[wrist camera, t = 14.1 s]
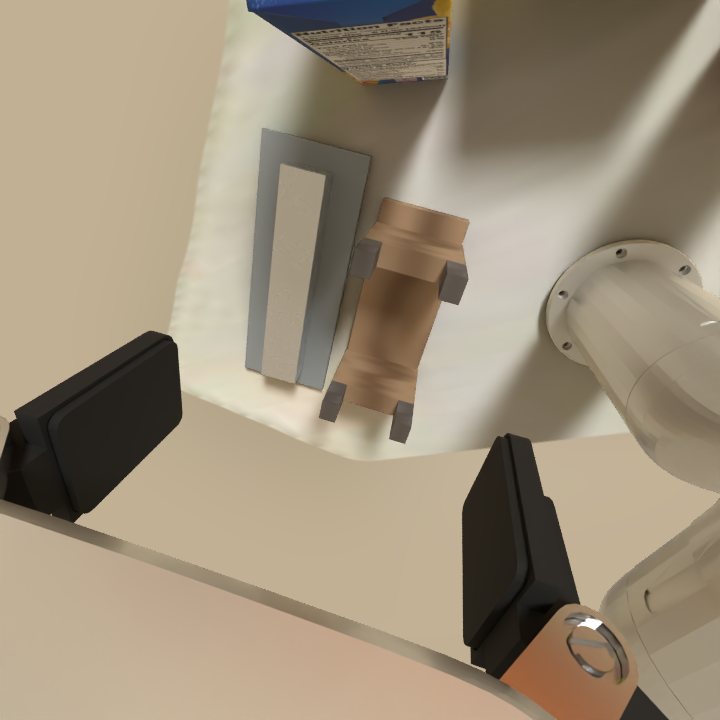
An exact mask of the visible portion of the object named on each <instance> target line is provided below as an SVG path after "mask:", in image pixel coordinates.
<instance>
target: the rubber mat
mask: <svg viewBox="0 0 720 720" xmlns="http://www.w3.org/2000/svg"><path fill="white" fill-rule="evenodd" d="M371 157H372V156H368V155H365V154H361V153H357V152H353V151H350V150H346V149H342V148H338V147H334V146H331V145H327V144H323V143H319V142H315V141H312V140H308V139H304V138H300V137H296V136H293V135H289V134H285V133H281V132H278V131H274V130H270V129H266V128H262V137H261V151H260V165H259V179H258V193H257V207H256V221H255V235H254V249H253V263H252V277H251V291H250V305H249V319H248V333H247V347H246V361H245V367H246V368H249V369H253V370H256V371H259V372H261V370H262V360H263V349H264V338H265V327H266V316H267V305H268V294H269V283H270V272H271V261H272V251H273V240H274V229H275V218H276V207H277V196H278V185H279V174H280V164H282V163H289V162H295V163H298V164H302V165H306V166H310V167H314V168H318V169H321V170H325V171H329V172H333V173H334V179H333V185H332V191H331V197H330V204H329V210H328V216H327V222H326V228H325V235H324V241H323V247H322V253H321V260H320V266H319V272H318V278H317V285H316V291H315V297H314V303H313V309H312V316H311V322H310V328H309V334H308V341H307V347H306V353H305V359H304V366H303V371H302V372H301V374H300V376H299V377H298V379H297V381H296V383H300V384H303V385H307V386H310V387H313V388H317V389H320V390H322V389H323V387H324V383H325V378H326V373H327V368H328V364H329V359H330V354H331V349H332V344H333V340H334V335H335V330H336V325H337V320H338V316H339V311H340V306H341V301H342V296H343V292H344V287H345V282H346V277H347V273H348V268H349V263H350V258H351V253H352V249H353V244H354V239H355V234H356V229H357V225H358V220H359V215H360V210H361V205H362V201H363V196H364V191H365V186H366V181H367V177H368V172H369V167H370V162H371Z"/></svg>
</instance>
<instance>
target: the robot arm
mask: <svg viewBox="0 0 720 720" xmlns="http://www.w3.org/2000/svg"><path fill="white" fill-rule="evenodd" d="M619 249H620V252H619V253H617V254H616V252H617V251H618V250H619ZM681 267H682V268H681ZM680 268H681V269H680ZM679 269H680V270H679ZM561 291H563V293H562V294H559V292H561ZM546 326H547V329H548V332H549V335H550V337H551V339H552V340H553V342H554V344H555V346H556V347H557V348H558V349H559V351H560V352H561V353H563V354H564V355H565V356H566V357H568V358H569V359H571V360H573V361H575V362H577V363H579V364H581V365H585V366H588V367H590V369H591V370H592V372H593V373H594V375H595V377H596V378H597V380H598V381H599V383H600V384H601V386H602V388H603V389H604V391H605V392H606V394H607V395H608V397H609V399H610V400H611V402H612V403H613V405H614V406H615V408H616V410H617V411H618V413H619V414H620V416H621V417H622V419H623V421H624V422H625V424H626V425H627V427H628V428H629V430H630V432H631V433H632V434H633V436H634V437H635V439H636V440H637V442H638V443H639V445H640V446H641V448H642V449H643V450H644V452H645V453H646V454H647V455H648V456H649V457H650V458H651V459H652V460H653V461H654V462H655V463H656V464H657V465H658V466H660V467H661V468H662V469H664V470H665V471H667V472H668V473H670V474H671V475H673V476H675V477H677V478H679V479H681V480H683V481H685V482H688V483H690V484H693V485H695V486H698V487H700V488H703V489H707V490H710V491H713V492H717V493H720V299H719V298H718V297H716V296H714V295H712V294H711V293H709V292H707V291H706V290H704V289H703V285H702V279H701V276H700V274H699V271H698V269H697V267H696V265H695V264H694V263H693V262H692V261H691V260H690V259H689V257H688V256H686V255H685V254H683V253H682V252H680V251H679V250H677V249H675V248H673V247H671V246H669V245H667V244H664V243H660V242H656V241H652V240H639V239H636V240H626V241H620V242H616V243H612V244H609V245H605V246H603V247H601V248H598V249H596V250H594V251H592V252H590V253H588V254H587V255H585V256H584V257H582V258H580V259H579V260H578V261H576V262H575V263H574V264H573V265H572V266H571V267H570V268H568V269H567V270H566V271H565V273H564V274H563V275H562V276H561V277H560V279H559V280H558V281H557V283H556V285H555V286H554V288H553V290H552V292H551V294H550V297H549V300H548V302H547V308H546ZM566 342H567V343H566ZM564 343H566V344H564ZM14 413H15V415H16V418H17V419H15V420H13V421H12V422H10V423H9V422H8V421H7V420H6V418H4V417H1V416H0V720H720V498H719V500H718V501H717V502H716V503H715V504H714V505H713V506H712V507H711V508H709V509H708V510H707V511H706V512H704V513H703V514H702V515H701V516H699V517H698V518H697V519H695V520H694V521H693V522H692V523H691V525H690V526H689V527H687V528H686V529H685V530H683V531H682V532H681V533H679V534H678V535H676V536H675V537H674V538H673V539H671V540H670V541H668V542H667V543H666V544H664V545H663V546H662V547H660V548H659V549H658V550H656V551H655V552H654V553H652V554H651V555H650V556H648V557H647V558H645V559H644V560H643V561H641V562H640V563H639V564H637V565H636V566H635V567H634V568H633V569H632V570H630V571H629V572H628V573H626V574H625V575H624V576H623V577H622V578H621V579H619V580H618V581H617V582H616V583H615V584H614V585H613V586H612V587H611V588H610V590H609V591H608V592H607V594H606V595H605V597H604V599H603V600H602V603H601V605H600V609H599V613H598V612H596V611H595V610H593V609H591V608H589V607H587V606H583V605H580V601H579V597H578V594H577V590H576V586H575V582H574V578H573V575H572V571H571V567H570V563H569V559H568V556H567V552H566V548H565V544H564V541H563V537H562V533H561V529H560V526H559V522H558V518H557V514H556V510H555V506H554V504H553V501H552V500H551V499H550V498H549V497H546V496H544V494H543V490H542V487H541V482H540V477H539V473H538V469H537V465H536V461H535V457H534V453H533V449H532V444H531V441H530V440H529V439H527V438H523V437H520V436H516V435H513V434H509V433H507V434H506V435H505V436H504V437H500V436H498V437H497V438H496V439H495V441H494V443H493V445H492V447H491V449H490V451H489V454H488V455H487V458H486V460H485V462H484V464H483V466H482V468H481V470H480V472H479V474H478V476H477V478H476V480H475V482H474V484H473V486H472V488H471V490H470V492H469V494H468V496H467V498H466V500H465V502H464V506H463V511H462V549H463V550H462V552H463V553H462V554H463V639H464V644H465V645H466V646H469V647H471V664H473V665H476V666H479V667H481V668H485V669H486V673H485V672H483V671H481V670H479V669H477V668H474V667H472V666H470V665H467V664H465V663H463V662H460V661H458V660H456V659H453V658H451V657H448V656H446V655H444V654H441V653H439V652H436V651H433V650H430V649H428V648H425V647H423V646H420V645H417V644H415V643H412V642H409V641H407V640H404V639H401V638H399V637H396V636H393V635H391V634H388V633H385V632H383V631H380V630H378V629H375V628H372V627H369V626H366V625H364V624H361V623H358V622H355V621H352V620H349V619H347V618H344V617H341V616H338V615H336V614H333V613H330V612H327V611H324V610H321V609H319V608H316V607H313V606H310V605H307V604H305V603H302V602H299V601H296V600H293V599H290V598H288V597H285V596H282V595H279V594H276V593H274V592H271V591H268V590H265V589H262V588H259V587H257V586H254V585H251V584H248V583H245V582H242V581H239V580H237V579H234V578H231V577H228V576H225V575H222V574H219V573H216V572H214V571H211V570H208V569H205V568H202V567H199V566H196V565H193V564H190V563H188V562H185V561H182V560H179V559H176V558H173V557H171V556H168V555H165V554H162V553H159V552H156V551H153V550H151V549H148V548H145V547H142V546H139V545H136V544H133V543H130V542H127V541H124V540H121V539H118V538H116V537H113V536H110V535H107V534H104V533H101V532H98V531H95V530H92V529H89V528H86V527H83V526H80V525H77V524H75V523H74V522H75V521H76V520H77V519H78V518H79V517H80V516H81V515H82V514H83V513H84V514H85V513H89V512H90V511H92V510H93V509H94V508H95V507H96V506H97V505H98V504H99V503H100V502H101V501H102V500H103V499H104V498H105V497H106V496H107V495H108V494H109V493H110V492H111V491H112V490H113V489H114V488H115V487H116V486H117V485H118V484H119V483H120V482H121V481H122V480H123V479H124V478H125V477H126V476H127V475H128V474H129V473H130V472H131V471H132V470H133V469H134V468H135V467H136V466H137V465H138V464H139V463H140V462H141V461H142V460H143V459H144V458H145V457H146V456H147V455H148V454H149V453H150V452H151V451H152V450H153V449H154V448H155V447H156V446H157V445H158V444H159V443H160V442H161V441H162V440H163V439H164V438H165V437H166V436H167V435H168V434H169V433H170V432H171V431H172V430H173V429H174V428H175V427H176V426H177V425H178V424H179V422H180V421H181V418H182V401H181V387H180V373H179V360H178V347H177V344H176V343H175V342H174V341H173V339H172V337H171V336H169V335H165V334H162V333H158V332H155V331H148V332H146V333H144V334H142V335H141V336H139V337H137V338H136V339H134V340H132V341H131V342H129V343H127V344H126V345H124V346H122V347H121V348H119V349H117V350H115V351H114V352H112V353H110V354H109V355H107V356H105V357H104V358H102V359H100V360H99V361H97V362H95V363H94V364H92V365H90V366H89V367H87V368H85V369H84V370H82V371H80V372H79V373H77V374H75V375H74V376H72V377H70V378H69V379H67V380H65V381H64V382H62V383H60V384H59V385H57V386H55V387H54V388H52V389H50V390H49V391H47V392H45V393H44V394H42V395H40V396H38V397H37V398H35V399H34V400H32V401H30V402H28V403H27V404H25V405H24V406H22V407H20V408H19V409H17V410H15V411H14ZM50 514H52V516H51V515H50Z"/></svg>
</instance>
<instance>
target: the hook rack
mask: <svg viewBox="0 0 720 720" xmlns="http://www.w3.org/2000/svg"><path fill="white" fill-rule="evenodd" d="M468 226H469V220H467V219H464V218H460V217H456V216H453V215H449V214H445V213H441V212H438V211H434V210H430V209H426V208H423V207H419V206H415V205H412V204H408V203H404V202H400V201H397V200H393V199H389V198H386V197H385V198H384V199H383V201H382V205H381V209H380V213H379V218H378V222H376V223H375V224H374V225H373V227H372V228H371V229H370V230H369V231H368V233H367V234H366V235H365V236H364V237H363V239H362V240H361V241H360V242H359V244H358V245H357V246H356V247H355V250H354V255H353V260H352V264H351V269H350V274H349V275H352V276H356V277H360V278H363V279H364V282H363V286H362V290H361V294H360V299H359V303H358V307H357V311H356V316H355V320H354V324H353V328H352V333H351V337H350V341H349V346H348V349H347V350H346V352H345V354H344V356H343V358H342V360H341V363H340V365H339V367H338V369H337V371H336V373H335V375H334V378H333V380H332V382H331V384H330V386H329V388H328V390H327V393H326V395H325V397H324V399H323V401H322V406H321V411H320V415H319V418H321V419H324V420H328V421H331V422H334V423H335V420H336V418H337V415H338V412H339V410H340V407H341V405H342V402H343V401H346V402H350V403H353V404H356V405H360V406H363V407H366V408H370V409H373V410H377V411H380V412H383V413H387V414H390V415H393V420H392V426H391V431H390V437H389V439H391V440H394V441H397V442H401V443H404V444H405V442H406V440H407V437H408V435H409V432H410V429H411V425H412V416H413V407H414V399H415V390H416V381H417V373H418V370H417V368H418V365H419V362H420V360H421V357H422V354H423V351H424V348H425V346H426V343H427V340H428V337H429V334H430V332H431V329H432V326H433V323H434V321H435V318H436V315H437V312H438V309H439V307H440V304H441V301H445V302H449V303H452V304H456V305H459V302H460V300H461V297H462V295H463V292H464V289H465V287H466V284H467V282H468V274H467V268H466V262H465V256H464V250H463V245H462V242H463V240H464V237H465V234H466V231H467V228H468Z"/></svg>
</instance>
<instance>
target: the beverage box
mask: <svg viewBox="0 0 720 720" xmlns="http://www.w3.org/2000/svg"><path fill="white" fill-rule="evenodd" d="M246 1H247V8H248V11H249V12H254V13H255V14H257V15H258V16H260V17H261V18H263V19H264V20H266V21H267V22H269V23H270V24H272V25H273V26H275V27H276V28H278V29H279V30H281V31H282V32H284V33H285V34H287V35H288V36H290V37H291V38H293V39H294V40H296V41H297V42H299V43H300V44H302V45H303V46H305V47H306V48H308V49H309V50H311V51H312V52H314V53H315V54H317V55H318V56H320V57H321V58H323V59H324V60H326V61H327V62H329V63H330V64H332V65H333V66H335V67H336V68H338V69H339V70H341V71H342V72H344V73H345V74H347V75H348V76H350V77H351V78H353V79H354V80H356V81H357V82H359V83H360V84H362V85H374V84H387V83H400V82H413V81H426V80H440V79H448V65H449V48H450V30H451V13H452V0H246Z"/></svg>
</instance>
